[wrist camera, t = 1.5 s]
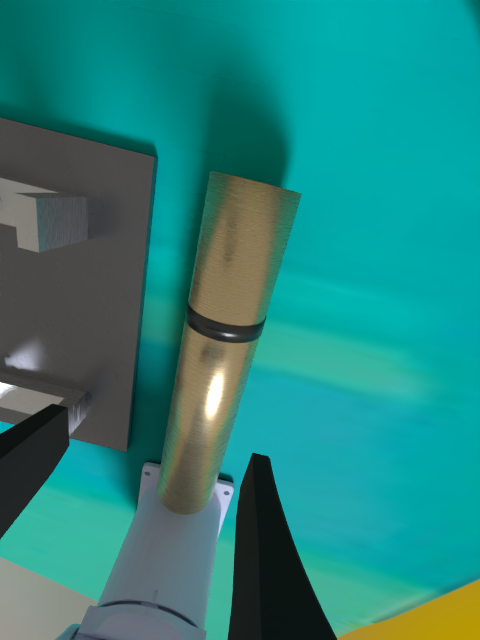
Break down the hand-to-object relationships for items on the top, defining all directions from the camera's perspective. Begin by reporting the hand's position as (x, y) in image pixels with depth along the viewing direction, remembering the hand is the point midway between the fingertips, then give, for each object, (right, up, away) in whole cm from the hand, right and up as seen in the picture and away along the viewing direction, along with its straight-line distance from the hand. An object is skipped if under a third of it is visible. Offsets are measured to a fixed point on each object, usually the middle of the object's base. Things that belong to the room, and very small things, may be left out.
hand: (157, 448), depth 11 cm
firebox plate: (-11, +6, +9) cm, 15 cm away
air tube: (+1, +3, +9) cm, 9 cm away
